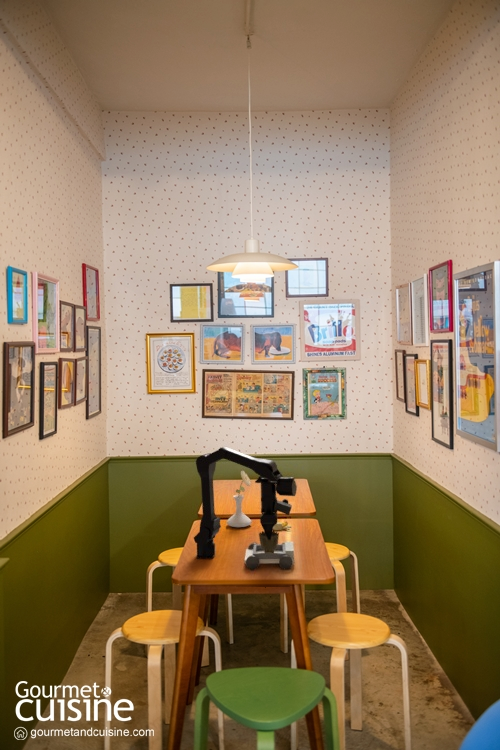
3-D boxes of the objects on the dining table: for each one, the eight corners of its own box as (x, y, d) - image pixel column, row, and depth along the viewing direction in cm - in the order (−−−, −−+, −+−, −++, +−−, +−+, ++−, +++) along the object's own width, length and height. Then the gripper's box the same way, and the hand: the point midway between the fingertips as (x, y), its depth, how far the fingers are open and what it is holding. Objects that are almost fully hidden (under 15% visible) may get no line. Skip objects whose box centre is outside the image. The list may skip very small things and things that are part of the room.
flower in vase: (241, 530, 294) (240, 474, 293) (221, 527, 301) (220, 472, 300) (258, 524, 304) (257, 470, 304) (239, 521, 311) (238, 468, 310)
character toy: (292, 523, 292) (275, 524, 290) (292, 530, 292) (276, 531, 290) (287, 518, 300) (270, 520, 298) (287, 526, 300) (270, 527, 298)
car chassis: (244, 570, 239) (244, 553, 239) (246, 555, 257) (246, 539, 257) (294, 569, 239) (294, 553, 238) (293, 554, 257) (292, 539, 256)
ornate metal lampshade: (278, 551, 252) (278, 530, 252) (280, 556, 244) (279, 535, 244) (258, 551, 252) (258, 530, 251) (259, 557, 244) (259, 535, 244)
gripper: (290, 499, 238) (291, 543, 238) (289, 489, 256) (290, 529, 257) (259, 500, 238) (260, 543, 238) (260, 489, 257) (261, 529, 257)
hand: (269, 536), depth 248 cm, fingers open, 9 cm apart
